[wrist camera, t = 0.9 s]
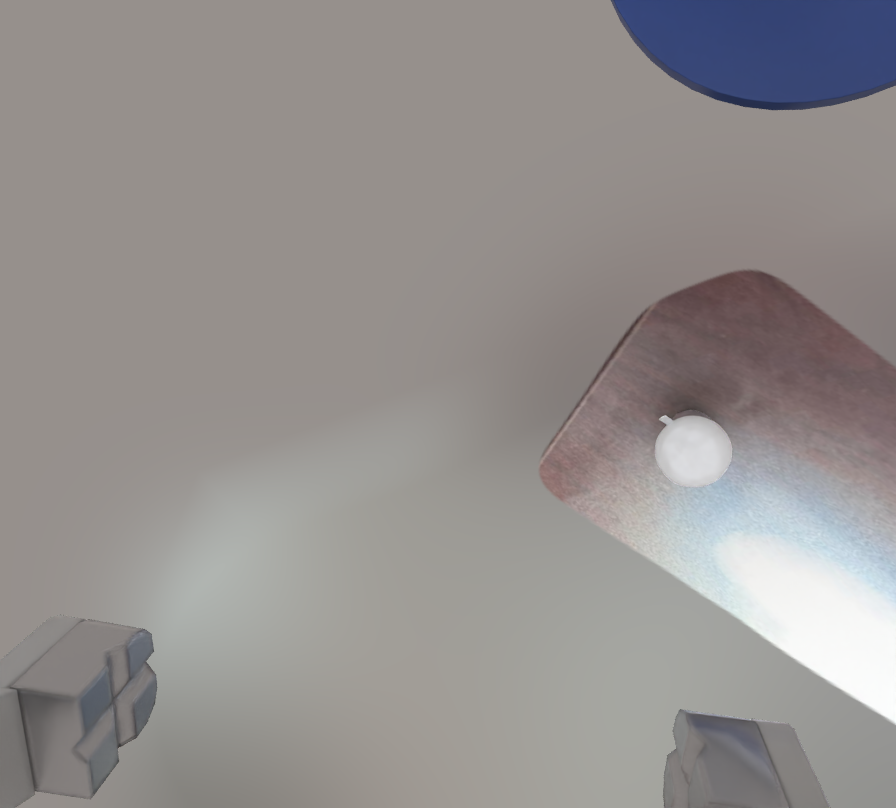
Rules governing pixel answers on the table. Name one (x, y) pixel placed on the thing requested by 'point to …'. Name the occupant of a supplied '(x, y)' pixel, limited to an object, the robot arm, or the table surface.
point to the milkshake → (692, 449)
